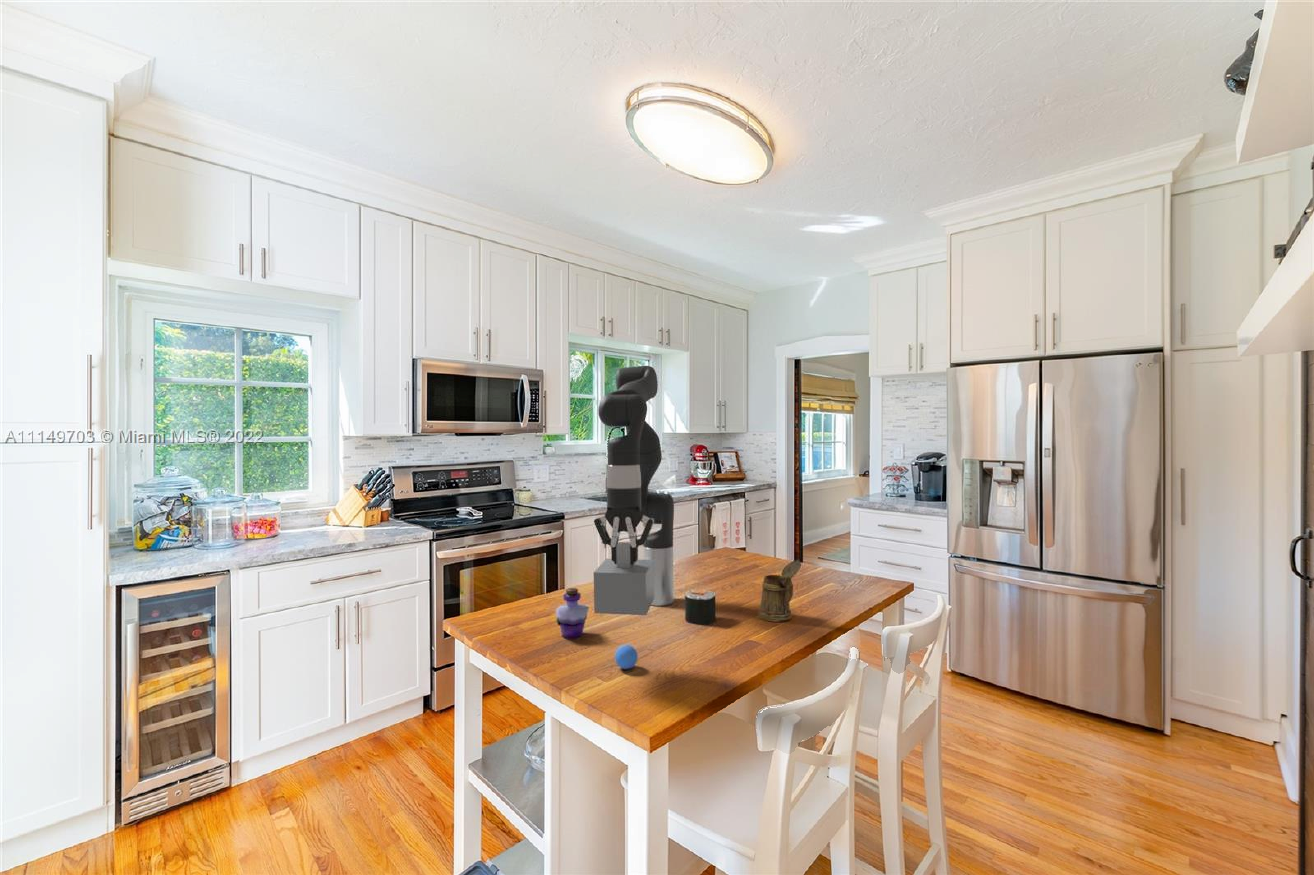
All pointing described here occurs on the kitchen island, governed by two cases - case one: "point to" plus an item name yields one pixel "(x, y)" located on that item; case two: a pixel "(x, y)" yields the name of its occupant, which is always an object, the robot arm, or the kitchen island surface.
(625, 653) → the ball
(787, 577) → the wooden mug
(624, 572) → the grey block
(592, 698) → the kitchen island surface
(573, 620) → the potion bottle
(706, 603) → the sushi
